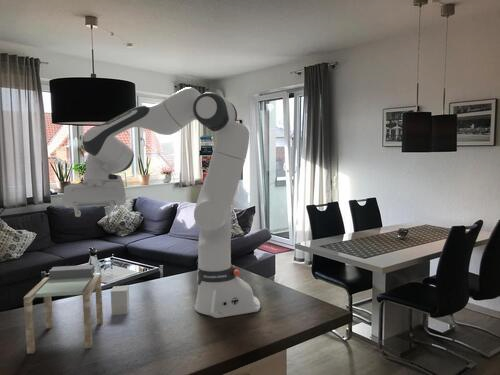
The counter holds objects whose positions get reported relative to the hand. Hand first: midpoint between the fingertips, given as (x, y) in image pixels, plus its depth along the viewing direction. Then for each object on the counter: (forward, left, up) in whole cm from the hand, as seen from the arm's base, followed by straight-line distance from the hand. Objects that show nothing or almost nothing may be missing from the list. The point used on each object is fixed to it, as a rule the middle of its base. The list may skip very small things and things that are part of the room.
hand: (92, 214), depth 130 cm
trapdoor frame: (+5, +17, -33) cm, 37 cm away
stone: (-8, +1, -33) cm, 34 cm away
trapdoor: (+5, +15, -18) cm, 24 cm away
